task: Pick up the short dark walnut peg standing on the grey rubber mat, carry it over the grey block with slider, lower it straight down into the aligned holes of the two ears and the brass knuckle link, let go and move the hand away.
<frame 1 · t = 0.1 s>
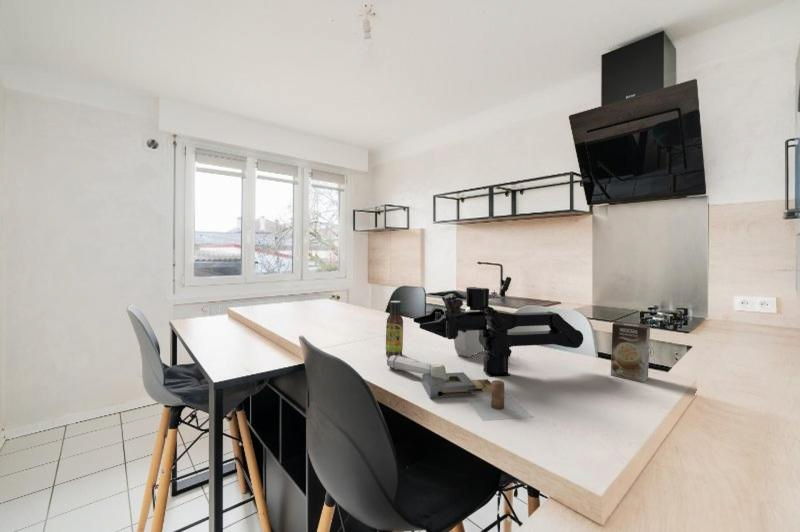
hand: (416, 323, 107), 17 cm above the table, tool horizontal, fingers open, 9 cm apart
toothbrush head: (416, 378, 108), on the table, touching grey block with slider
coffee box: (629, 377, 109), on the table
soap bottle: (471, 353, 134), on the table
grey block with slider: (451, 391, 97), on the table
sauce bottle: (394, 355, 131), on the table
walnut peg: (497, 407, 86), resting on grey mat
grey mat: (497, 409, 86), on the table
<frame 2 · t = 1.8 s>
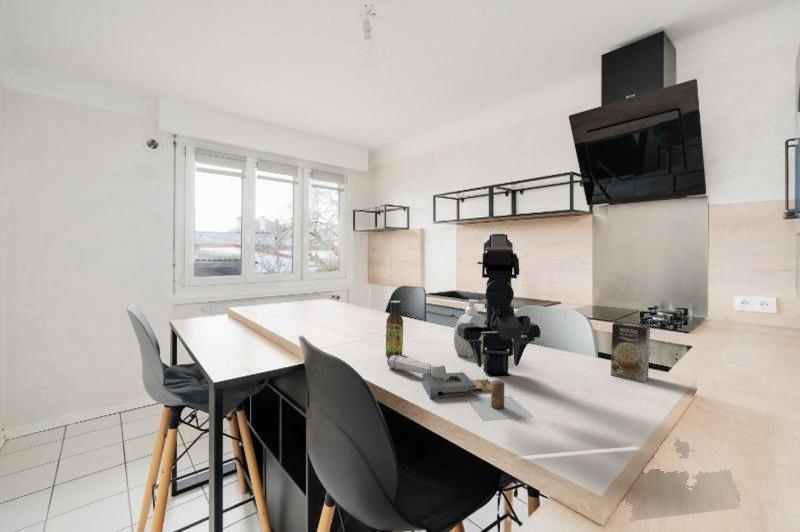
hand: (498, 365, 86), 10 cm above the table, tool pointing down, fingers open, 9 cm apart
nothing on the table moved.
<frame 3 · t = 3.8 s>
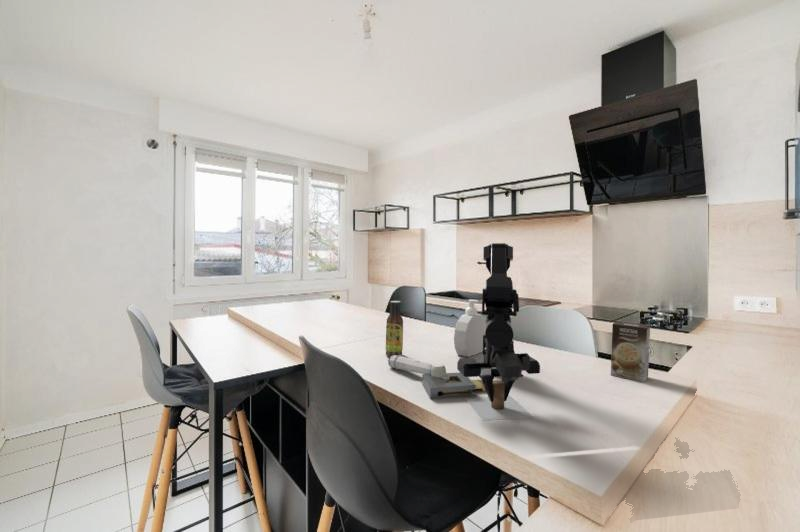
hand: (497, 400, 86), 2 cm above the table, tool pointing down, fingers closed on walnut peg, 3 cm apart
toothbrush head: (417, 378, 108), on the table, touching grey block with slider
walnut peg: (497, 407, 86), resting on grey mat, touching gripper
everything else where it was.
when the fingers open (4 cm above the table, at t = 9.0 s): walnut peg drops 3 cm, resting in grey block with slider.
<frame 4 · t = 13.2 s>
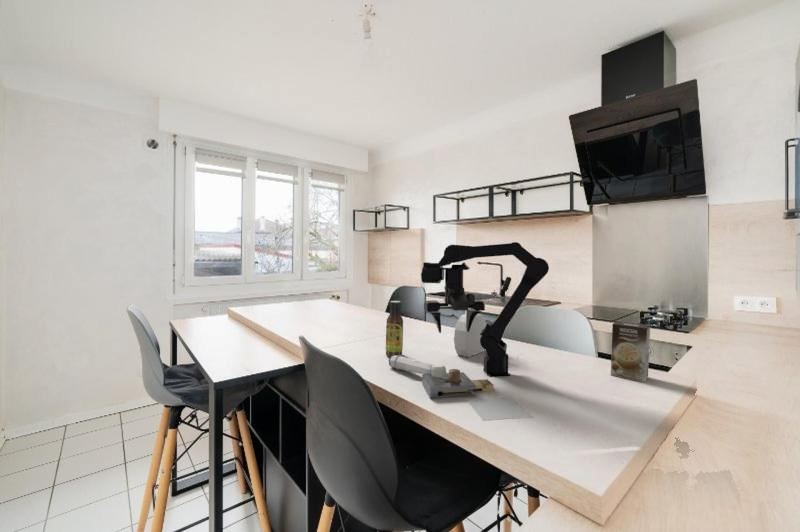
hand: (453, 332, 115), 12 cm above the table, tool pointing down, fingers open, 9 cm apart
walnut peg: (454, 392, 96), resting in grey block with slider
everything else where it was.
at the end: walnut peg 0.9 cm off-centre on the grey block with slider, point 0.0 cm above the grey block with slider's base; walnut peg tilted 0°; the gripper is holding nothing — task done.
